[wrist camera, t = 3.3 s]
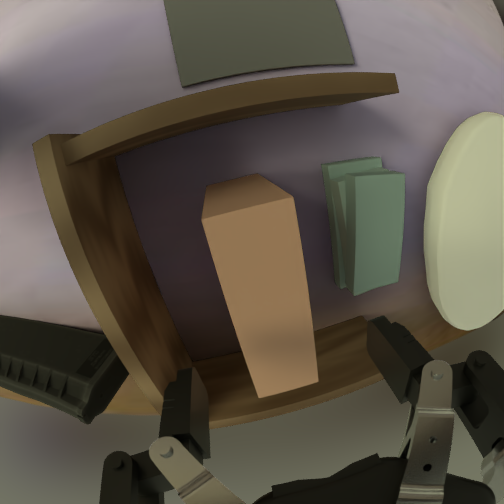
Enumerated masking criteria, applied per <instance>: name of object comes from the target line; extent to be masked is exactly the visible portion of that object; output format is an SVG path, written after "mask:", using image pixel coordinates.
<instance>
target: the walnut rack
mask: <svg viewBox="0 0 504 504" xmlns="http://www.w3.org/2000/svg"><path fill="white" fill-rule="evenodd" d="M395 93H399V89H398V85H397V80H396V76H395V73H372V72H344V73H320V74H306V75H295V76H286V77H278V78H270V79H263V80H257V81H251V82H245V83H240V84H234V85H229V86H224V87H220V88H215V89H211V90H207V91H203V92H199V93H195V94H191V95H187V96H183V97H180V98H176V99H173V100H170V101H166V102H163V103H160V104H157V105H154V106H151V107H148V108H145V109H142V110H139V111H136V112H134V113H131V114H128V115H125V116H123V117H120V118H118V119H115V120H113V121H110V122H108V123H105V124H103V125H101V126H98V127H96V128H94V129H92V130H89V131H87V132H85V133H83V134H48V135H47V136H45V137H43V138H41V139H40V140H38V141H36V142H35V143H33V144H32V146H33V151H34V155H35V160H36V164H37V168H38V172H39V176H40V180H41V184H42V187H43V191H44V194H45V197H46V201H47V204H48V207H49V210H50V213H51V216H52V219H53V222H54V225H55V228H56V231H57V233H58V236H59V239H60V241H61V244H62V246H63V249H64V251H65V254H66V256H67V259H68V261H69V263H70V266H71V268H72V270H73V273H74V275H75V277H76V279H77V281H78V283H79V286H80V288H81V290H82V292H83V294H84V296H85V298H86V300H87V302H88V304H89V306H90V308H91V310H92V312H93V313H94V315H95V317H96V319H97V321H98V323H99V324H100V326H101V328H102V330H103V332H104V333H105V335H106V337H107V338H108V340H109V342H110V343H111V345H112V347H113V348H114V350H115V352H116V353H117V355H118V356H119V358H120V360H121V361H122V363H123V364H124V366H125V367H126V369H127V370H128V372H129V373H130V375H131V376H132V378H133V379H134V381H135V382H136V383H137V385H138V386H139V388H140V389H141V391H142V392H143V393H144V395H145V396H146V397H147V399H148V400H149V401H150V403H151V404H152V405H153V407H154V408H155V409H156V410H157V412H158V413H159V414H160V416H161V414H162V409H163V408H162V405H163V402H164V401H163V398H164V391H165V389H166V387H167V386H168V384H169V382H173V381H176V378H177V371H178V370H179V369H184V368H190V367H195V368H196V370H197V372H198V374H199V376H200V378H201V380H202V382H203V384H204V386H205V388H206V390H207V394H208V402H209V429H214V428H221V427H227V426H233V425H238V424H243V423H248V422H252V421H257V420H262V419H266V418H270V417H274V416H278V415H282V414H286V413H290V412H293V411H297V410H300V409H304V408H307V407H310V406H313V405H316V404H320V403H323V402H325V401H329V400H332V399H334V398H337V397H340V396H343V395H346V394H348V393H351V392H354V391H356V390H359V389H361V388H364V387H366V386H369V385H371V384H374V383H376V382H378V381H381V380H383V379H384V377H383V376H382V374H381V373H380V371H379V370H378V368H377V367H376V365H375V364H374V362H373V361H372V359H371V358H370V356H369V354H368V351H367V346H366V343H367V321H366V320H365V319H364V317H363V316H360V317H357V318H354V319H351V320H348V321H345V322H342V323H339V324H336V325H333V326H330V327H327V328H324V329H321V330H318V331H314V332H313V333H314V342H315V351H316V361H317V371H318V382H316V383H313V384H310V385H306V386H303V387H300V388H296V389H293V390H289V391H286V392H282V393H278V394H274V395H270V396H266V397H262V398H259V397H258V395H257V392H256V389H255V386H254V383H253V381H252V378H251V375H250V372H249V369H248V366H247V363H246V360H245V358H244V355H243V352H242V351H241V352H237V353H233V354H228V355H224V356H219V357H215V358H210V359H205V360H200V361H195V362H192V361H191V359H190V357H189V355H188V353H187V351H186V348H185V346H184V344H183V342H182V340H181V338H180V336H179V334H178V332H177V329H176V327H175V325H174V323H173V321H172V318H171V316H170V314H169V312H168V309H167V307H166V305H165V302H164V300H163V298H162V295H161V293H160V290H159V288H158V285H157V283H156V281H155V278H154V275H153V273H152V270H151V268H150V265H149V263H148V260H147V257H146V255H145V252H144V249H143V246H142V244H141V241H140V238H139V235H138V232H137V229H136V226H135V223H134V220H133V217H132V214H131V211H130V208H129V205H128V202H127V199H126V195H125V192H124V189H123V185H122V182H121V178H120V175H119V171H118V168H117V164H116V160H115V156H117V155H120V154H123V153H125V152H128V151H131V150H134V149H136V148H139V147H142V146H145V145H148V144H151V143H154V142H157V141H160V140H164V139H167V138H170V137H173V136H177V135H180V134H184V133H187V132H191V131H194V130H198V129H202V128H206V127H210V126H214V125H218V124H222V123H227V122H231V121H236V120H240V119H245V118H250V117H255V116H261V115H266V114H272V113H278V112H284V111H291V110H298V109H306V108H314V107H323V106H333V105H343V104H347V103H351V102H355V101H360V100H364V99H369V98H374V97H379V96H384V95H389V94H395Z"/></svg>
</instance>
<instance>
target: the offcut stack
mask: <svg viewBox="0 0 504 504" xmlns="http://www.w3.org/2000/svg"><path fill="white" fill-rule="evenodd" d="M321 166H322V173H323V179H324V186H325V193H326V200H327V208H328V216H329V225H330V234H331V243H332V254H333V265H334V278H335V283H336V284H337V286H338V287H339V288H340V289H343V288H346V287H347V288H348V290H349V291H350V292H351V293H352V294H353V295H354V296H357V295H359V294H362V293H364V292H367V291H369V290H372V289H374V288H377V287H381V286H385V285H389V284H392V283H396V282H398V278H399V270H400V262H401V252H402V241H403V227H404V206H405V174H404V173H400V172H396V171H389V170H388V169H384V168H382V161H381V158H380V157H373V156H372V157H365V158H358V159H351V160H344V161H338V162H332V163H326V164H321Z"/></svg>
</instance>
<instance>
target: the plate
mask: <svg viewBox="0 0 504 504" xmlns="http://www.w3.org/2000/svg"><path fill="white" fill-rule="evenodd" d="M424 257H425V266H426V277H427V285H428V288H429V292H430V295H431V299H432V300H433V302H434V304H435V305H436V307H437V309H438V310H439V312H440V314H441V315H442V317H443V318H444V319H445V320H446V321H447V322H449V323H450V324H451V325H452V326H454V327H456V328H459V329H463V330H467V331H468V330H472V329H476V328H480V327H482V326H484V325H485V324H487V323H489V322H490V321H491V320H492V319H494V318H495V317H496V316H497V315H498V314H499V313H500V312H502V311H503V309H504V116H502V115H500V114H498V113H492V112H482V113H479V114H477V115H474V116H472V117H469V118H467V119H466V120H465V121H464V122H463V123H462V124H461V125H459V126H458V127H457V129H456V130H455V131H454V133H453V134H452V136H451V137H450V139H449V140H448V142H447V143H446V145H445V147H444V149H443V151H442V153H441V155H440V157H439V159H438V161H437V163H436V166H435V168H434V171H433V173H432V175H431V178H430V180H429V183H428V185H427V197H426V209H425V219H424Z"/></svg>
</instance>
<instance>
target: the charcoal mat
mask: <svg viewBox="0 0 504 504" xmlns="http://www.w3.org/2000/svg"><path fill="white" fill-rule="evenodd" d="M164 5H165V10H166V15H167V20H168V25H169V30H170V35H171V39H172V44H173V49H174V54H175V58H176V63H177V67H178V72H179V76H180V81H181V85H182V88H183V87H187V86H190V85H194V84H198V83H202V82H206V81H211V80H215V79H220V78H225V77H230V76H235V75H240V74H246V73H252V72H259V71H265V70H273V69H281V68H291V67H302V66H317V65H353V64H355V62H354V59H353V55H352V52H351V48H350V45H349V41H348V38H347V35H346V32H345V29H344V26H343V23H342V20H341V17H340V14H339V11H338V8H337V6H336V3H335V0H164Z"/></svg>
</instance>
